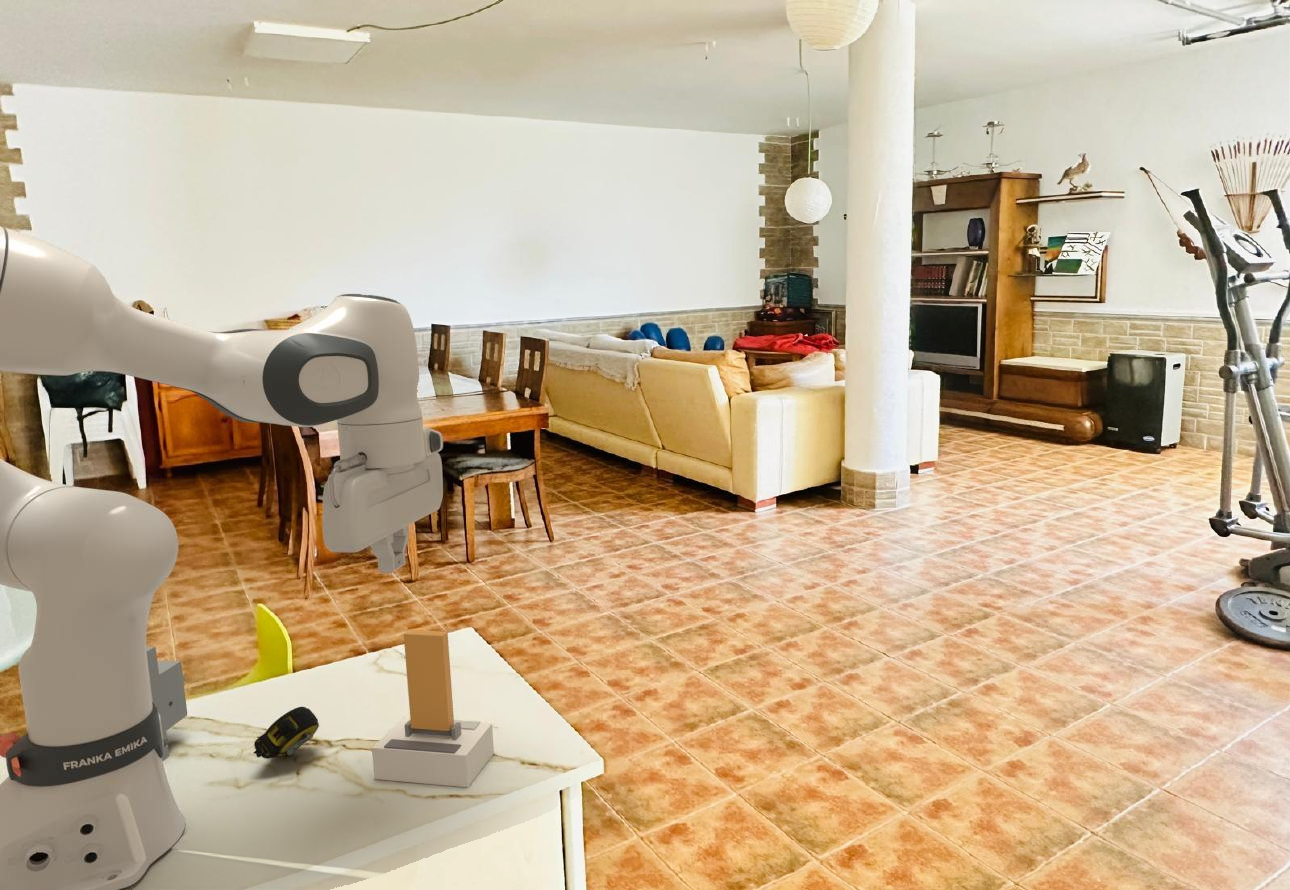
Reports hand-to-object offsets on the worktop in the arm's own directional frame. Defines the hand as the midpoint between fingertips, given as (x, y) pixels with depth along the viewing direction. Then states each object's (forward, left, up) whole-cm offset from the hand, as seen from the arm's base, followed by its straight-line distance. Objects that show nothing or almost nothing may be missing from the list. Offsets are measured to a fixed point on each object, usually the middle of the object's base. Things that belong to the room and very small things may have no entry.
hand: (392, 569), depth 97 cm
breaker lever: (+5, +4, -22) cm, 23 cm away
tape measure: (-8, +18, -27) cm, 33 cm away
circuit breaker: (-22, +32, -27) cm, 47 cm away
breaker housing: (+5, +4, -27) cm, 28 cm away
